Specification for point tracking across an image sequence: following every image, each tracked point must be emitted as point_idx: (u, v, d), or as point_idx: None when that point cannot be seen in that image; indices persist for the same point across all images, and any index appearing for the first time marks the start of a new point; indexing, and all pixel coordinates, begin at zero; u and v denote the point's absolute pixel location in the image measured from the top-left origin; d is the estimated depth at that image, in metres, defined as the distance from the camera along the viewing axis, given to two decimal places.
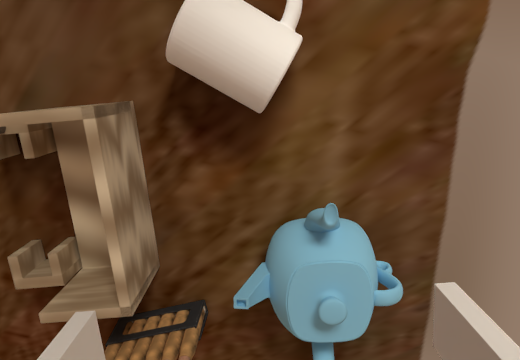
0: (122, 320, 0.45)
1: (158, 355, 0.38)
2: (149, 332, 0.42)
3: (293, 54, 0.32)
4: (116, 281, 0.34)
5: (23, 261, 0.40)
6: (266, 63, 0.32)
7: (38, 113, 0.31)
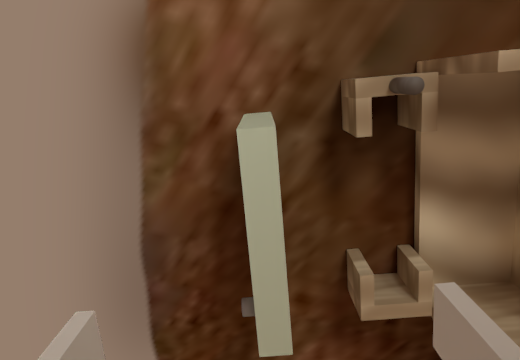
0: None
1: None
2: None
3: None
4: None
5: None
6: None
7: None
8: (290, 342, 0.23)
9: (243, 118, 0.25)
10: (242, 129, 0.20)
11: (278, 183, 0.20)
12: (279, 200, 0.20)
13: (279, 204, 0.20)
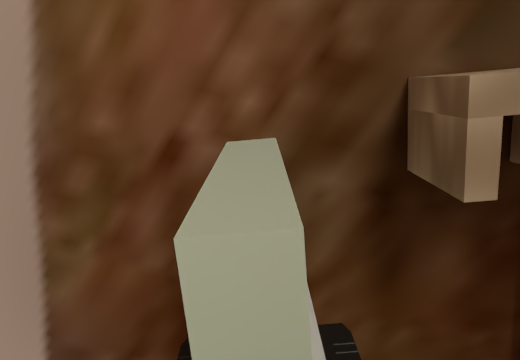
0: None
1: None
2: None
3: None
4: None
5: None
6: None
7: None
8: None
9: (219, 160, 0.12)
10: (194, 236, 0.06)
11: None
12: None
13: None
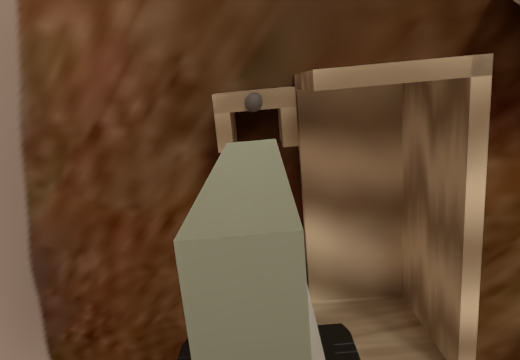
0: None
1: None
2: None
3: None
4: (462, 338, 0.22)
5: None
6: None
7: (398, 66, 0.18)
8: None
9: (219, 161, 0.12)
10: (194, 238, 0.06)
11: None
12: None
13: None
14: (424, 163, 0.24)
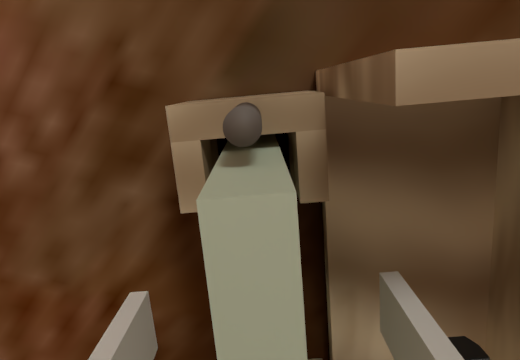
0: None
1: None
2: None
3: None
4: None
5: None
6: None
7: None
8: None
9: (225, 149, 0.14)
10: (212, 199, 0.08)
11: (301, 325, 0.08)
12: None
13: None
14: None
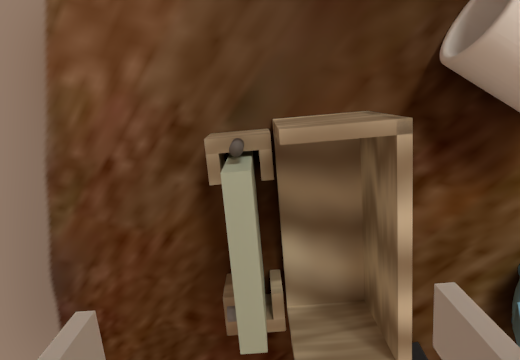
0: None
1: None
2: None
3: None
4: (400, 333, 0.28)
5: None
6: None
7: (342, 127, 0.24)
8: (265, 342, 0.28)
9: (228, 157, 0.31)
10: (225, 172, 0.25)
11: (253, 214, 0.26)
12: (255, 227, 0.26)
13: (255, 230, 0.26)
14: (374, 193, 0.31)
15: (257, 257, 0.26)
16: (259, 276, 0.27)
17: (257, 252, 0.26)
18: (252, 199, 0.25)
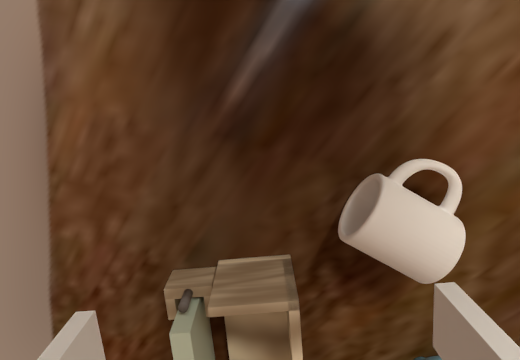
0: None
1: None
2: None
3: (463, 247, 0.37)
4: None
5: None
6: (441, 257, 0.37)
7: (251, 306, 0.36)
8: None
9: None
10: (172, 333, 0.36)
11: (193, 359, 0.37)
12: None
13: None
14: (288, 326, 0.42)
15: None
16: None
17: None
18: (191, 350, 0.37)
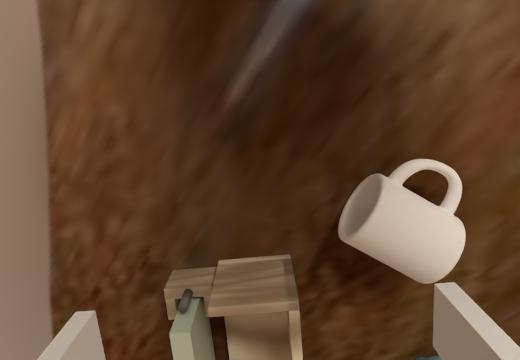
0: None
1: None
2: None
3: (463, 247, 0.37)
4: None
5: None
6: (441, 257, 0.37)
7: (251, 306, 0.36)
8: None
9: None
10: (172, 333, 0.36)
11: (193, 359, 0.37)
12: None
13: None
14: (288, 326, 0.42)
15: None
16: None
17: None
18: (191, 350, 0.37)
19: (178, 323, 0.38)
